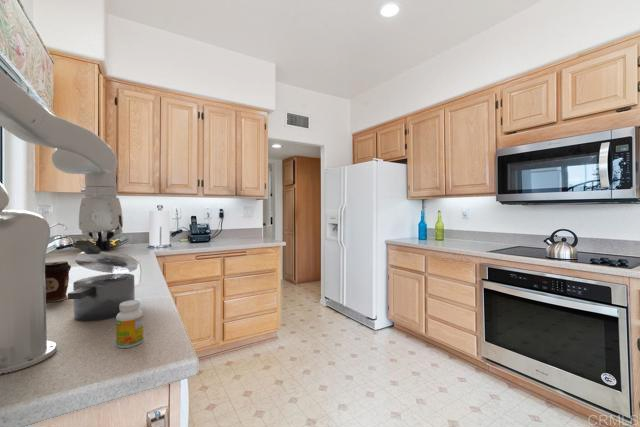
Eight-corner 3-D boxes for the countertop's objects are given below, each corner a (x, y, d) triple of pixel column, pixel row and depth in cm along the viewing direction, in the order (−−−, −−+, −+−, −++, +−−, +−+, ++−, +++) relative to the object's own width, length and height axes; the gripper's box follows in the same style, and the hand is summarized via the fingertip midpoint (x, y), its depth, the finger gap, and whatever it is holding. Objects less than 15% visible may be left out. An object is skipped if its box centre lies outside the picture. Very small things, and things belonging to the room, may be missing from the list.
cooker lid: (93, 273, 96) (96, 264, 98) (145, 272, 98) (147, 263, 100) (47, 246, 78) (52, 235, 79) (112, 245, 80) (116, 234, 81)
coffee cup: (54, 304, 96) (53, 265, 96) (30, 304, 96) (28, 265, 96) (77, 296, 105) (76, 260, 104) (54, 296, 105) (53, 260, 105)
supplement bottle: (110, 347, 67) (109, 306, 67) (128, 337, 72) (128, 298, 72) (131, 349, 66) (130, 307, 66) (148, 338, 72) (148, 299, 71)
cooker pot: (106, 328, 77) (105, 291, 77) (43, 331, 75) (42, 293, 75) (145, 300, 100) (145, 271, 99) (97, 302, 98) (97, 273, 97)
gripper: (64, 192, 83) (66, 256, 84) (121, 192, 85) (122, 255, 86) (82, 193, 90) (84, 252, 91) (134, 193, 92) (135, 251, 93)
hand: (103, 253), depth 88 cm, fingers closed
